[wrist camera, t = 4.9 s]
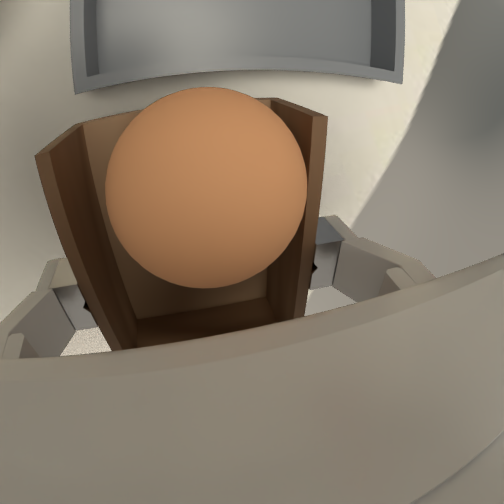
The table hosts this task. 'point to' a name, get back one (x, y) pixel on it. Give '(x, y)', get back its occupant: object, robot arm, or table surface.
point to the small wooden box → (145, 283)
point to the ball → (206, 187)
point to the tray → (233, 38)
